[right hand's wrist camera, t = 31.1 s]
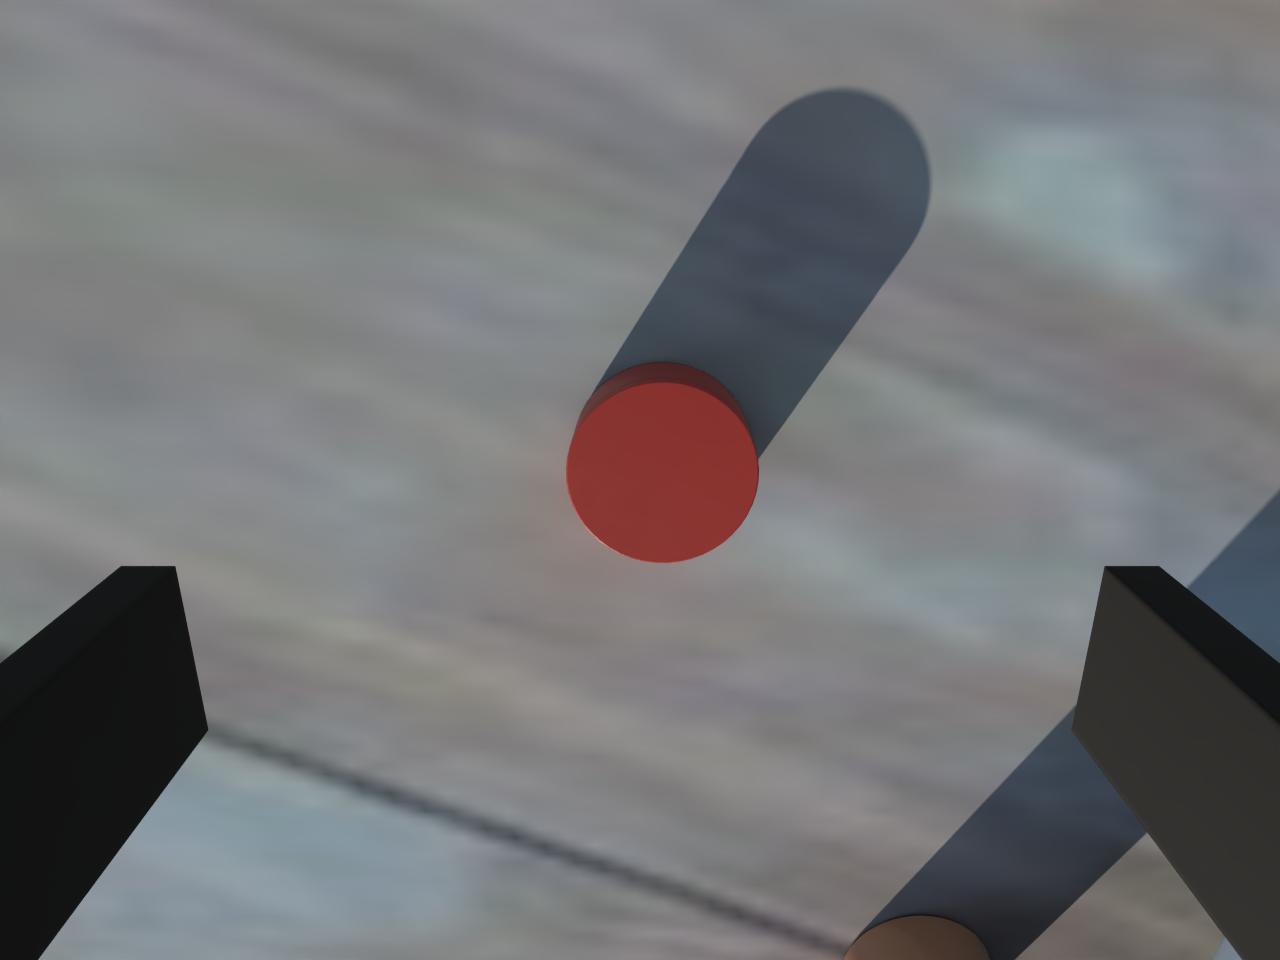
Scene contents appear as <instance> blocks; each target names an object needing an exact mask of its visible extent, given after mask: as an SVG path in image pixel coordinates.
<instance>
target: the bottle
mask: <svg viewBox="0 0 1280 960" xmlns="http://www.w3.org/2000/svg"><path fill="white" fill-rule="evenodd" d="M844 960H990V957H989V955H988V952H987V950H986V948H985V946H984V945H983V943H982V942H981V940H980V939H979V938H978V937H977V936H976V935H975V934H974V933H972V932H971V931H970V930H969V929H967V928H966V927H964V926H962V925H961V924H959V923H956V922H954V921H952V920H948V919H945V918H941V917H935V916H925V915H919V916H907V917H901V918H896V919H892V920H890V921H887V922H884V923H882V924H879V925H877V926H875V927H873V928H872V929H870V930H868V931H867V932H866V933H864V934H863V935H862V936H860V937H859V938H858V939H857V940H856V941H855V942H854V943H853V945H852V946H851V947H850V948H849V950H848V952H847V953H846V955H845V957H844Z"/></svg>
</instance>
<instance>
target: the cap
mask: <svg viewBox="0 0 1280 960" xmlns="http://www.w3.org/2000/svg"><path fill="white" fill-rule="evenodd" d="M758 478H759V465H758V457H757V452H756V448H755V445H754V442H753V439H752V436H751V433H750V430H749V427H748V424H747V421H746V419H745V416H744V413H743V411H742V409H741V408H740V406H739V404H738V402H737V401H736V400H735V398H734V397H733V396H732V394H731V393H730V392H729V391H728V390H727V389H726V388H725V387H724V386H723V385H722V384H721V383H720V382H718V381H717V380H716V379H714V378H713V377H711V376H710V375H708V374H706V373H704V372H703V371H700V370H698V369H695V368H693V367H690V366H686V365H682V364H677V363H669V362H656V363H648V364H642V365H638V366H635V367H632V368H629V369H627V370H624V371H622V372H620V373H618V374H617V375H615V376H613V377H611V378H610V379H609V380H607V381H606V382H605V383H604V384H602V385H601V386H600V387H599V388H598V389H597V390H596V391H595V392H594V393H593V395H592V396H591V397H590V399H589V400H588V401H587V403H586V405H585V406H584V408H583V410H582V412H581V414H580V417H579V419H578V422H577V425H576V428H575V432H574V435H573V438H572V442H571V445H570V449H569V452H568V456H567V465H566V481H567V487H568V493H569V496H570V499H571V502H572V505H573V507H574V509H575V511H576V513H577V515H578V517H579V518H580V520H581V521H582V523H583V524H584V525H585V527H586V528H587V529H588V530H589V531H590V533H591V534H592V535H594V536H595V537H596V538H597V539H598V540H599V541H600V542H602V543H603V544H604V545H606V546H607V547H609V548H610V549H612V550H614V551H616V552H618V553H620V554H622V555H625V556H627V557H630V558H633V559H637V560H641V561H646V562H654V563H670V562H679V561H684V560H688V559H692V558H695V557H697V556H700V555H703V554H705V553H707V552H709V551H711V550H713V549H714V548H716V547H717V546H719V545H720V544H722V543H723V542H724V541H726V540H727V539H728V538H729V537H730V536H731V535H732V534H733V533H734V532H735V531H736V530H737V529H738V528H739V526H740V525H741V524H742V522H743V521H744V519H745V518H746V516H747V515H748V513H749V511H750V509H751V506H752V504H753V501H754V498H755V495H756V492H757V486H758Z"/></svg>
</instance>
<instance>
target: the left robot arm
mask: <svg viewBox="0 0 1280 960" xmlns="http://www.w3.org/2000/svg"><path fill="white" fill-rule="evenodd" d="M1212 960H1242V959H1241V958H1240V956H1239V955H1238V954H1237V952H1236V951H1235V950H1234V948H1233V947H1232V946H1231V944H1230V943H1229V941H1228V940H1227V939H1226V937H1225V936H1224V937H1223V939H1222V941H1221V943H1220V945H1219V947H1218V949H1217V951H1216V953H1215V954H1214V956H1213V958H1212Z"/></svg>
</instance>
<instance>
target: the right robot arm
mask: <svg viewBox="0 0 1280 960" xmlns="http://www.w3.org/2000/svg"><path fill="white" fill-rule="evenodd" d="M207 731H208V726H207V721H206V716H205V711H204V706H203V701H202V696H201V691H200V686H199V681H198V676H197V671H196V666H195V661H194V656H193V652H192V647H191V642H190V637H189V632H188V627H187V622H186V617H185V612H184V607H183V602H182V597H181V592H180V587H179V582H178V577H177V572H176V567H175V566H121V567H119V568H118V569H117V570H116V571H114V572H113V573H112V574H111V575H109V576H108V577H107V578H106V579H105V580H103V581H102V582H101V583H100V584H98V585H97V586H96V587H95V588H93V589H92V590H91V591H90V592H88V593H87V594H86V595H85V596H83V597H82V598H81V599H80V600H78V601H77V602H76V603H75V604H74V605H72V606H71V607H70V608H69V609H67V610H66V611H65V612H64V613H62V614H61V615H60V616H59V617H57V618H56V619H55V620H54V621H52V622H51V623H50V624H49V625H47V626H46V627H45V628H44V629H43V630H41V631H40V632H39V633H38V634H36V635H35V636H34V637H33V638H31V639H30V640H29V641H28V642H26V643H25V644H24V645H23V646H21V647H20V648H19V649H18V650H16V651H15V652H14V653H13V654H11V655H10V656H9V657H8V658H7V659H5V660H4V661H3V662H2V663H0V960H38V959H39V958H40V956H41V955H42V954H43V952H44V951H45V950H46V948H47V947H48V946H49V944H50V943H51V941H52V940H53V939H54V937H55V936H56V935H57V933H58V932H59V931H60V929H61V928H62V927H63V925H64V924H65V923H66V921H67V920H68V919H69V917H70V916H71V915H72V913H73V912H74V910H75V909H76V908H77V906H78V905H79V904H80V902H81V901H82V900H83V898H84V897H85V896H86V894H87V893H88V892H89V890H90V889H91V888H92V886H93V885H94V883H95V882H96V881H97V879H98V878H99V877H100V875H101V874H102V873H103V871H104V870H105V869H106V867H107V866H108V865H109V863H110V862H111V861H112V859H113V858H114V857H115V855H116V854H117V852H118V851H119V850H120V848H121V847H122V846H123V844H124V843H125V842H126V840H127V839H128V838H129V836H130V835H131V834H132V832H133V831H134V830H135V828H136V827H137V826H138V824H139V823H140V821H141V820H142V819H143V817H144V816H145V815H146V813H147V812H148V811H149V809H150V808H151V807H152V805H153V804H154V803H155V801H156V800H157V799H158V797H159V796H160V794H161V793H162V792H163V790H164V789H165V788H166V786H167V785H168V784H169V782H170V781H171V780H172V778H173V777H174V776H175V774H176V773H177V772H178V770H179V769H180V768H181V766H182V765H183V763H184V762H185V761H186V759H187V758H188V757H189V755H190V754H191V753H192V751H193V750H194V749H195V747H196V746H197V745H198V743H199V742H200V741H201V739H202V738H203V737H204V735H205V734H206V732H207ZM1072 731H1073V732H1074V734H1075V735H1076V737H1077V738H1078V739H1079V741H1080V742H1081V743H1082V745H1083V746H1084V747H1085V749H1086V750H1087V751H1088V753H1089V754H1090V755H1091V757H1092V758H1093V759H1094V761H1095V762H1096V763H1097V765H1098V766H1099V768H1100V769H1101V770H1102V772H1103V773H1104V774H1105V776H1106V777H1107V778H1108V780H1109V781H1110V782H1111V784H1112V785H1113V786H1114V788H1115V789H1116V790H1117V792H1118V793H1119V795H1120V796H1121V797H1122V799H1123V800H1124V801H1125V803H1126V804H1127V805H1128V807H1129V808H1130V809H1131V811H1132V812H1133V813H1134V815H1135V816H1136V817H1137V819H1138V820H1139V821H1140V823H1141V824H1142V826H1143V827H1144V828H1145V830H1146V831H1147V832H1148V834H1149V835H1150V836H1151V838H1152V839H1153V840H1154V842H1155V843H1156V844H1157V846H1158V847H1159V848H1160V850H1161V851H1162V852H1163V854H1164V855H1165V857H1166V858H1167V859H1168V861H1169V862H1170V863H1171V865H1172V866H1173V867H1174V869H1175V870H1176V871H1177V873H1178V874H1179V875H1180V877H1181V878H1182V879H1183V881H1184V882H1185V884H1186V885H1187V886H1188V888H1189V889H1190V890H1191V892H1192V893H1193V894H1194V896H1195V897H1196V898H1197V900H1198V901H1199V902H1200V904H1201V905H1202V906H1203V908H1204V909H1205V910H1206V912H1207V913H1208V915H1209V916H1210V917H1211V919H1212V920H1213V921H1214V923H1215V924H1216V925H1217V927H1218V928H1219V929H1220V931H1221V932H1222V933H1223V935H1224V936H1225V937H1226V939H1227V940H1228V941H1229V943H1230V944H1231V946H1232V947H1233V948H1234V950H1235V951H1236V952H1237V954H1238V955H1239V956H1240V958H1241V959H1242V960H1280V663H1278V662H1277V661H1276V660H1275V659H1273V658H1272V657H1271V656H1270V655H1269V654H1267V653H1266V652H1265V651H1264V650H1262V649H1261V648H1260V647H1259V646H1257V645H1256V644H1255V643H1254V642H1252V641H1251V640H1250V639H1249V638H1247V637H1246V636H1245V635H1244V634H1242V633H1241V632H1240V631H1239V630H1237V629H1236V628H1235V627H1234V626H1233V625H1231V624H1230V623H1229V622H1228V621H1226V620H1225V619H1224V618H1223V617H1221V616H1220V615H1219V614H1218V613H1216V612H1215V611H1214V610H1213V609H1211V608H1210V607H1209V606H1208V605H1206V604H1205V603H1204V602H1203V601H1202V600H1200V599H1199V598H1198V597H1197V596H1195V595H1194V594H1193V593H1192V592H1190V591H1189V590H1188V589H1187V588H1185V587H1184V586H1183V585H1182V584H1180V583H1179V582H1178V581H1177V580H1175V579H1174V578H1173V577H1172V576H1170V575H1169V574H1168V573H1167V572H1166V571H1164V570H1163V569H1162V568H1161V567H1159V566H1105V567H1104V572H1103V577H1102V582H1101V587H1100V592H1099V597H1098V602H1097V607H1096V612H1095V617H1094V622H1093V627H1092V632H1091V637H1090V642H1089V647H1088V652H1087V656H1086V661H1085V666H1084V671H1083V676H1082V681H1081V686H1080V691H1079V696H1078V701H1077V706H1076V711H1075V716H1074V721H1073V726H1072Z"/></svg>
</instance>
